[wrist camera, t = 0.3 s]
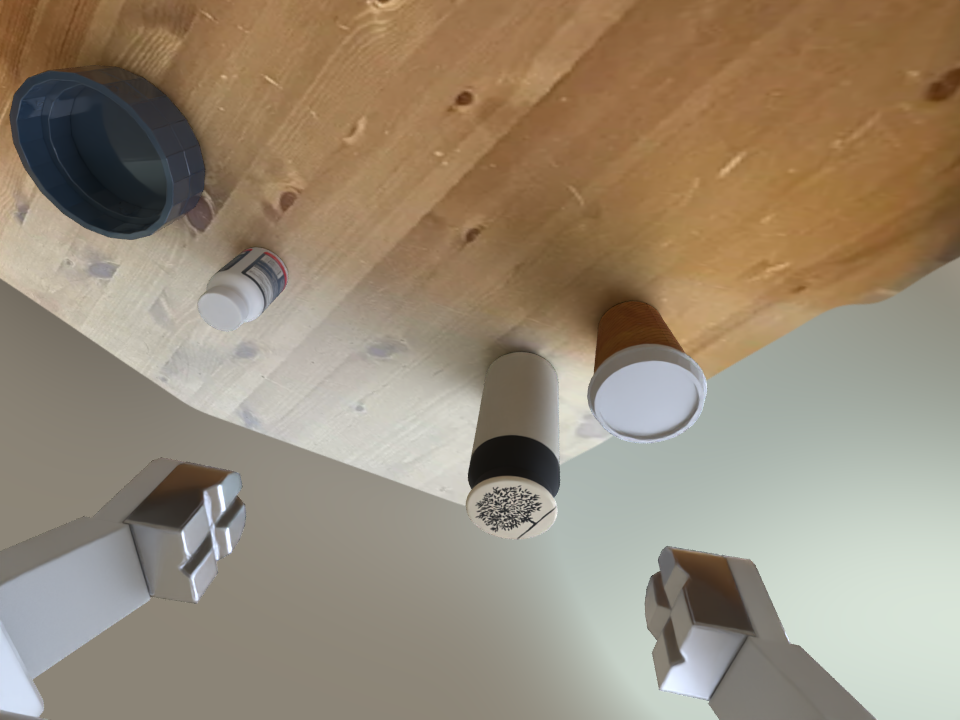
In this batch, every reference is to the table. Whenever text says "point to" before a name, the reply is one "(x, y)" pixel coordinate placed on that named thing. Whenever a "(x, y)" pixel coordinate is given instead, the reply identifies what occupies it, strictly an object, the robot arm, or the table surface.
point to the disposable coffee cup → (643, 377)
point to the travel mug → (516, 449)
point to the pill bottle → (243, 289)
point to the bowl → (107, 149)
